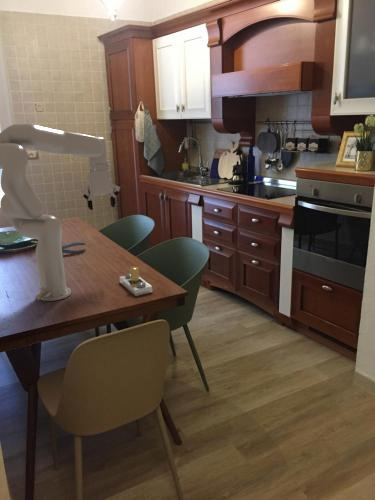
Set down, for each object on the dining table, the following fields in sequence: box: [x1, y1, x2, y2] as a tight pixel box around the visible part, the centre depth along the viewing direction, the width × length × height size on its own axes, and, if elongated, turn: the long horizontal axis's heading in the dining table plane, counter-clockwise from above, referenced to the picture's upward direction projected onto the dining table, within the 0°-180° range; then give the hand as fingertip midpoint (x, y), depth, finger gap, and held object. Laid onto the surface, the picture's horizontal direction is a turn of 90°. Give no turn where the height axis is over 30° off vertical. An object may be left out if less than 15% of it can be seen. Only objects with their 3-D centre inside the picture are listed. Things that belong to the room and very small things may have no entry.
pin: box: [129, 266, 140, 285], centre depth 173 cm, size 3×3×8 cm
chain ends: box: [119, 272, 153, 297], centre depth 174 cm, size 17×7×4 cm, turn 29°
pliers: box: [62, 241, 87, 255], centre depth 219 cm, size 20×2×6 cm, turn 112°
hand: (102, 208), depth 187 cm, fingers open, 9 cm apart
